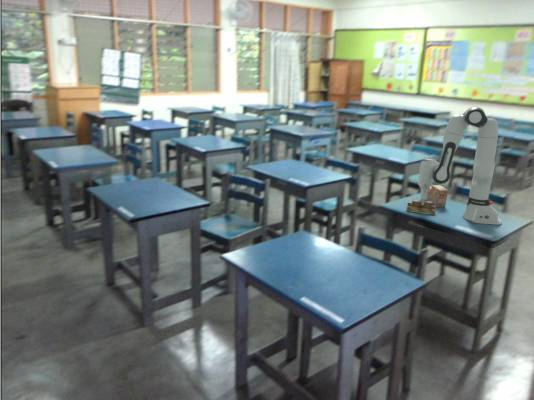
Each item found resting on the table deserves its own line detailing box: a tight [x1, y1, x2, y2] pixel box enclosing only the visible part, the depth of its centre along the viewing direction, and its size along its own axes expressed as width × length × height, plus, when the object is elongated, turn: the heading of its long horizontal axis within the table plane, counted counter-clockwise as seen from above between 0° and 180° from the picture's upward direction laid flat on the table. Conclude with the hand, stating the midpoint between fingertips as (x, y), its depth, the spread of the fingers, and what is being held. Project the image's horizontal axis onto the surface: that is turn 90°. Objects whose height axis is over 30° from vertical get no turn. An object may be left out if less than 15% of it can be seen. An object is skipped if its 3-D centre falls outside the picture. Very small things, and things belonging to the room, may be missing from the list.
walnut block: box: [411, 199, 433, 209], centre depth 294 cm, size 12×4×6 cm, turn 76°
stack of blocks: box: [426, 184, 449, 208], centre depth 313 cm, size 21×6×12 cm, turn 6°
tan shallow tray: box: [406, 202, 437, 216], centre depth 294 cm, size 18×10×3 cm, turn 70°
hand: (422, 202), depth 293 cm, fingers open, 8 cm apart
